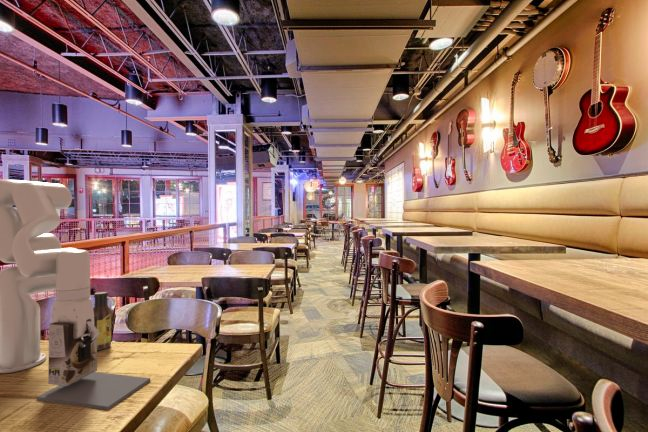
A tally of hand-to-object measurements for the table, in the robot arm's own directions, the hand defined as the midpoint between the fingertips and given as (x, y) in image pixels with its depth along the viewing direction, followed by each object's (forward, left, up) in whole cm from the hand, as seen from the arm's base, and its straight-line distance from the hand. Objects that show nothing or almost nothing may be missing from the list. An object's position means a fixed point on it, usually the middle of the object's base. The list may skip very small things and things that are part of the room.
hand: (73, 358), depth 88 cm
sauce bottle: (-17, +24, -8) cm, 30 cm away
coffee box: (0, 0, -5) cm, 5 cm away
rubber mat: (+7, 0, -8) cm, 11 cm away
